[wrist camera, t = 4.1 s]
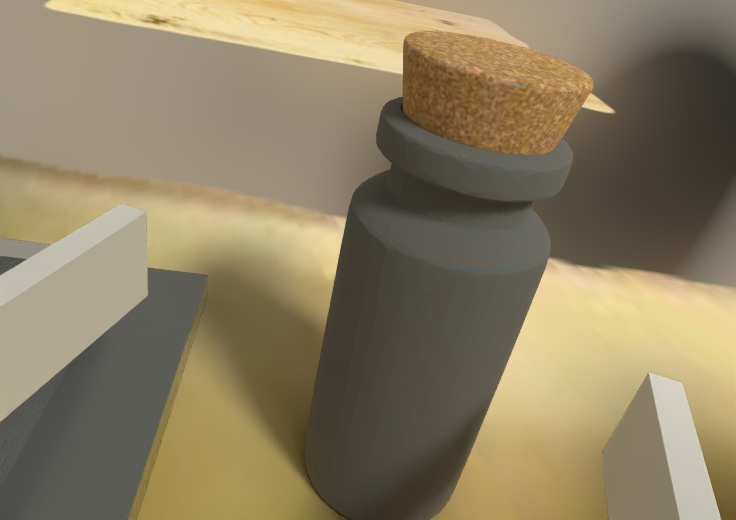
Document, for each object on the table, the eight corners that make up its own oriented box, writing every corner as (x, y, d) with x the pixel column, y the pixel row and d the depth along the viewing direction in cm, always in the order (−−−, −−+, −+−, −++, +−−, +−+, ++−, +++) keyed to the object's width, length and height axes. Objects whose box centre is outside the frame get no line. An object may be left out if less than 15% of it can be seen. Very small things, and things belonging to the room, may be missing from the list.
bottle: (442, 409, 25) (569, 49, 17) (469, 538, 20) (665, 112, 12) (305, 396, 24) (374, 11, 16) (298, 526, 19) (391, 63, 11)
